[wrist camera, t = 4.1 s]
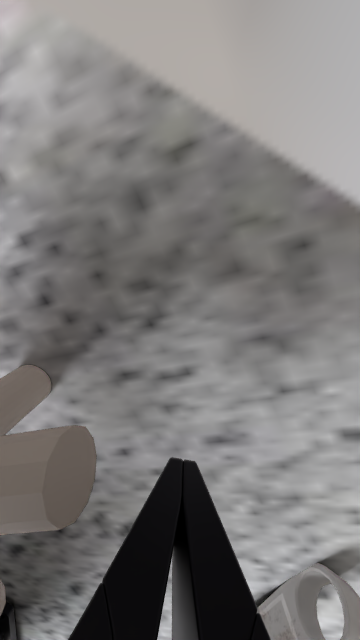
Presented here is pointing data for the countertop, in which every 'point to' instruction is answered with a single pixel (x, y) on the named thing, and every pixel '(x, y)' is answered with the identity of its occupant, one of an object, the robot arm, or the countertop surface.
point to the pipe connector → (40, 463)
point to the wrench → (308, 606)
